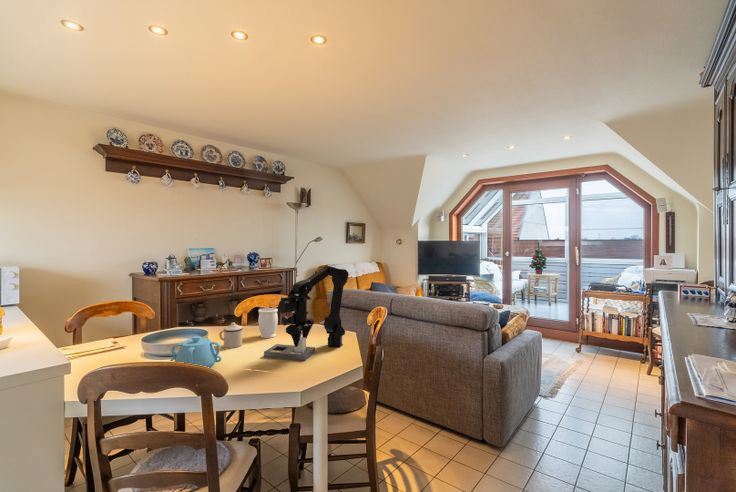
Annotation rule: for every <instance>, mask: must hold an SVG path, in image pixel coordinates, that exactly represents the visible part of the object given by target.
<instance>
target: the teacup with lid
mask: <svg viewBox="0 0 736 492" xmlns="http://www.w3.org/2000/svg"><path fill="white" fill-rule="evenodd" d="M243 329H244V328H243V326H242V325H238V324H237V323H236V322H230V324H229V325H228V326H225V327H224V328H223V330H221V331H220V332H219V339H220V341H223V347H224V348H225V349H235V348H239V347H242V345H243ZM222 333H223V336H222Z"/></svg>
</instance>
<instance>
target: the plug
mask: <svg viewBox="0 0 736 492" xmlns="http://www.w3.org/2000/svg"><path fill="white" fill-rule="evenodd" d="M293 345H294V344H293ZM306 347H307V339H306V338H305V337H303V336H301V337H300V341H299V344H298V346H297V347H295V345H294V352H301V353H304V352H305V351H306Z"/></svg>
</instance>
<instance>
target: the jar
mask: <svg viewBox="0 0 736 492" xmlns="http://www.w3.org/2000/svg"><path fill="white" fill-rule="evenodd" d="M278 311H279V309H278V308H275V307H266V308H265V307H264V308H260V309H258V313H259V314H258V329H259V332H260V338H262V339H270V338H275V337H276V336H277V334H276V332H277V329H278V321H279V317H278V316H279V315H278Z"/></svg>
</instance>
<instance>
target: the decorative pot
mask: <svg viewBox="0 0 736 492" xmlns="http://www.w3.org/2000/svg"><path fill="white" fill-rule="evenodd" d="M214 345H215V346H216V347H217V351H216V348H215V347H214ZM177 347H179V349H178V351H177V353H176V352H175V348H177ZM170 350H171V351H170V352H171V354H172V357H173V358H171V359H170V361H173V362H184V363H191V364H197V365H202V366H206V367H209V368H210V369H211V368H213V366H214V365H215V363H220V362H221V361H222V356H221V355H219V354H220V352H221V344H220V343H219V342H218V341H211V340H210V338H205V337H201V336H200V335H197V336H196V335H195V336H192V337H191V339H190V338H189V339H187V340H184V341H183V342H181V343H180V342H178V343H175V344H173V345H172V347H171V349H170ZM170 361H169V362H170Z"/></svg>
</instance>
